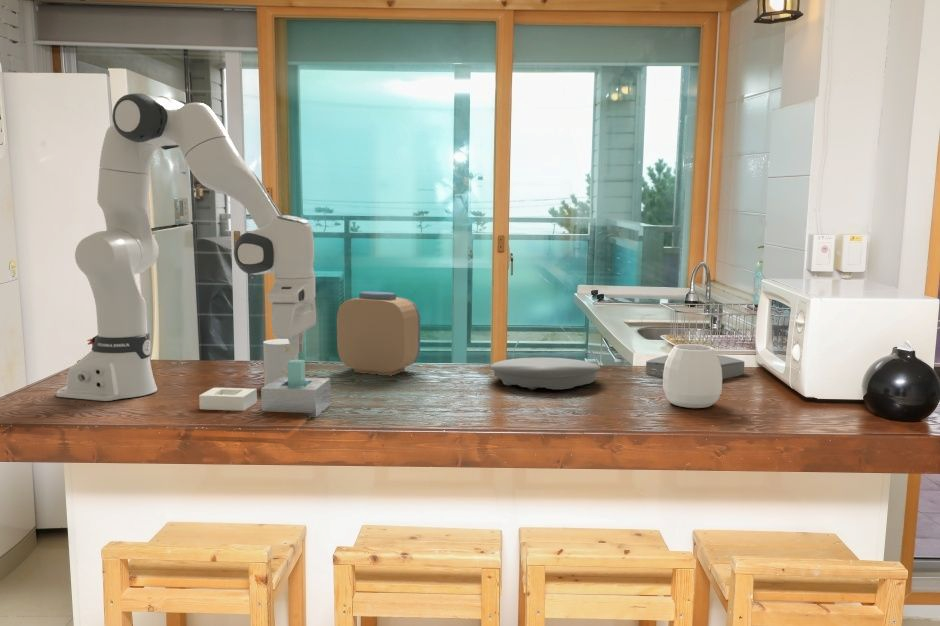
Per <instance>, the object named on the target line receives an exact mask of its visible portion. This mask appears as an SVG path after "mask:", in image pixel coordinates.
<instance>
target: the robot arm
mask: <svg viewBox="0 0 940 626" xmlns="http://www.w3.org/2000/svg"><path fill="white" fill-rule="evenodd" d="M112 123H113V124H111V125H110V126H109V127H108V128H107V129H106V132H105V136H104V138H103V142H102V143H103V144H102V146H101V153H100V159H99V170H98V183H97V184H98V185H97V198H96V200H97V204H98V206H99V207H100V208H101V210H102V212H103V213H102V214H103V217H104V221H105V225H106V227H105V228H106V230H101V231H100V230H99V231H97V232H93V233H91V234H89V235H88V236H86V237H84V238H83V239H81V240H80V241H79V243H77V245H76V249H75V252H74V259H75V263H76V265H77V268H79V270H80V271H81V272H82V273H83V274H84V275H85V276H86V278H87V280H88V281H87V282H89V287H90V288H91V291H92V295H93V298H94V302H95V303H94V304H95V312H96V313H95V314H96V325H97V334H96V335H95V336H94V337H92V338H89V339H86V340H87V342H88V343H87V346H89V345H91V351H89V352H88V353H87V354H86V355H84V356H83V357H82V358H80V360H78V361H77V362H76V363H74V364H73V365H72V366H70V368H69V370H68V372H67V375H66V376H67V377H66V386H64V387H61V388H59V389H57V391H56V397H58V398H69V399H79V400H90V401H102V402H109V401H114V400H115V401H116V400H121V399H128V398H137V397H142V396H147V395H152V394H153V393H156V392H157V391H158V387H157V385H156V381H155V378H154V375H153V370H152V364H151V338H150V333H149V331H148V312H147V310H148V309H147V302H146V299H145V298H144V296H143V295H142V294H141V292H140V290H139V288H138V285H137V282H136V277H135V275H137V274H141V273H144V272H145V271H146V270H148V269H150V268H151V267H152V266H153V265H154V264H155V263H156V262H157V261H158V259H159V258H158V257H159V254H160V253H159V252H160V248H159V245H158V241H157V240H156V239H155V238H154V235H153V231H152V225H151V221H150V213H149V212H150V211H149V200H150V199H149V198H150V197H149V196H150V183H151V182H150V181H151V170H152V169H151V167H152V158H153V154H154V153H155V151H156V150H157V149H159V148H161V149H162V150H164V151H167V150H171V149H175V148H178V149H179V151H181V154H182V156H183V158H184V160H185V161H186V164H187V166H188V168H189V170H190V171H191V173H192V175H193V176H194V178H195V179H196V180H197V181H198V182H199V184H201V185H202V186H204V187H205V188H207V189H209V190H212V191H215V192H218V193H221V194H223V195H226V196H228V197H230V198H232V199H234V200H235V201H236V202H238V203H240V204H241V205H242V206H243V207H244V208H245V209H246V211H247V213H248V214H249V216H250V217H251V219H252V220H253V222H254V223H255V225H256V227H257V228H256V229H255V230H251V231H248V232H244V233H242V234H241V235H239V236H238V237H237V239H236V241H235V243H234V248H233V256H234V261H235V263H236V266H238V267H239V269H240V270H241V271H242V272H243V273H246V274H249V275H269V274H273V283H272V287H271V289H270V291H269V292H268V294H267V297H268V299H267V300H268V303H272V304H271V305H270V319H271V329H272V334H273V336H274V339H288V340H289V343H290V346H291V353H292V354H298V355H299V353H302V352H303V350H304V349H303V342H304V339H305V332H306V331H308V330H309V329H311V328H313V327H315V326H316V324H317V306H316V299H315V298H316V297H317V296H316V274H315V270H314V261H315V257H316V256H315V241H314V240H315V239H314V232H313V227H312V225H311V223H310V221H309V220H307V219H306V218H304V217H300V216H295V215H288V214H287V215H286V214H284V215H283V214H282V213H281V211H280V209H279V208H278V207H277V205H276V203H275V202H274V200H273V199H272V197H271V195H270V194H269V191H268V190H267V189H266V188H265V186H264V184H263V183H262V181H261V180H260V179H259V177H258V176H257V175H256V174H255V173H254V171H253V170H252V169H251V168H250V167H249V166H248V164H247V163H246V162H245V160H244V159H243V157H242V156H241V154H240V152H239V151H238V149H237V148H236V145H235V144H234V143H233V140H232V139H231V136H230V135H229V133H228V131H227V129H226V128H225V126H224V125H223V123H222V121H221V120H220V119H219V117H218V115H217V114H216V113H215V112H214V111H213V109H212V108H211V107H210V106H209V105H207V104H205V103H203V102H189V103H186V102H184V101H182V100H177V99H174V98H170V97H166V96H163V95H150V94H144V93H138V92H136V93H129V94H125V95H123V96H121V97H120V98H119V99H118V100H117V101H116V102H115V103H114V106H113V109H112ZM238 267H237V268H238Z"/></svg>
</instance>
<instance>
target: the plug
mask: <svg viewBox="0 0 940 626" xmlns="http://www.w3.org/2000/svg"><path fill="white" fill-rule="evenodd" d="M305 378H306V360H305V359H298V360H290V361H289V362H288V386H306V382H305Z"/></svg>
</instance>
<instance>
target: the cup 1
mask: <svg viewBox="0 0 940 626" xmlns="http://www.w3.org/2000/svg"><path fill="white" fill-rule="evenodd" d="M290 360H299V353H298V354H292V353H291V346H290V343H289V340H288V339H277V338H274V339H267V340H263V373H264V374H263V376H264V378H263V379H264V386H266V385H267V384H269V383H271V382H272V381H274V380H275V379H277V378H279V377H288V362H289V361H290Z"/></svg>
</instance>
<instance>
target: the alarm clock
mask: <svg viewBox="0 0 940 626" xmlns="http://www.w3.org/2000/svg"><path fill="white" fill-rule="evenodd" d="M336 334H337V335H336V342H337V344H336V345H337V346H336V347H337V353H338V356H339V359H340V360H341V362H342V363H343V364H344V365H345V366H347V367H349V368H352V369H353V373H356V372H357V374H366V373H369V374H368V375H376V374H378V375H377V376H386V375H387V376H388V375H389V376H388V377H393V376H395V375H398V374H400V373H399V372H401V373H403V372H405V370H406V369H405V368H407V367H409V366H411V365H413V364H414V363H416V361H417V360H418V358H419V356H420V352H421V314H420V310H419V307H417V304H416V303H415V302H414V301H413V300H411V299H408V298H405V297H400V296H397V294H396V292H389V291H361V292H359V294H358V297H357V298H352V299H346V300H345V301H343V302H342V303H341V304H340V306H339V307H338V309H337V315H336ZM402 371H403V372H402ZM397 373H398V374H397ZM392 375H393V376H392ZM387 376H386V377H387Z"/></svg>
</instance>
